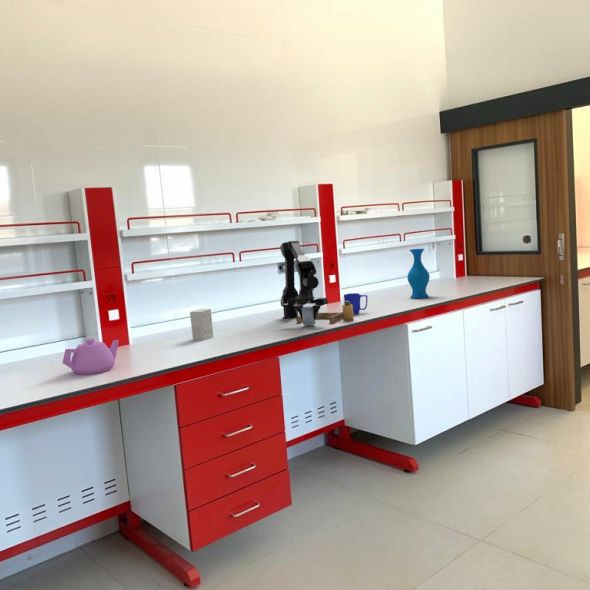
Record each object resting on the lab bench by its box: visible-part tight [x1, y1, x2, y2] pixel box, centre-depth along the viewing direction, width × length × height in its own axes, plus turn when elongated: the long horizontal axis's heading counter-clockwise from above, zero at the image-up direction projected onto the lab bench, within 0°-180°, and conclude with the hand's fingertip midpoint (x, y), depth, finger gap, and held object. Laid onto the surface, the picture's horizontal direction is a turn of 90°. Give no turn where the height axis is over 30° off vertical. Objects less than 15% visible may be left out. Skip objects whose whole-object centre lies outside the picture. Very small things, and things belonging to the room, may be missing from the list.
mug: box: [343, 292, 368, 315], centre depth 313 cm, size 8×12×10 cm
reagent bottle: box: [341, 300, 355, 322], centre depth 294 cm, size 5×5×9 cm
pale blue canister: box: [302, 305, 316, 326], centre depth 288 cm, size 6×9×8 cm
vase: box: [407, 248, 431, 299], centre depth 352 cm, size 12×13×28 cm
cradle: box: [295, 311, 343, 325], centre depth 299 cm, size 19×14×3 cm
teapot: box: [62, 338, 120, 376], centre depth 227 cm, size 22×16×12 cm
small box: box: [189, 308, 214, 341], centre depth 276 cm, size 8×6×13 cm
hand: (308, 319), depth 287 cm, fingers closed on pale blue canister, 6 cm apart
